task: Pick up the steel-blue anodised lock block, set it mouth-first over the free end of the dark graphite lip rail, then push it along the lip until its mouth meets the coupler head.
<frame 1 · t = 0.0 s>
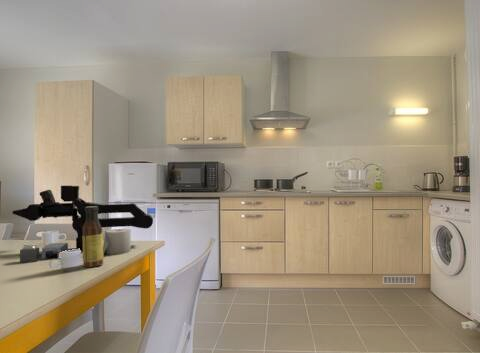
hand: (17, 211, 125), 17 cm above the table, tool horizontal, fingers open, 9 cm apart
toilet tissue: (115, 253, 123), on the table
lock block: (55, 256, 118), on the table
sauce bottle: (92, 265, 104), on the table
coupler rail: (36, 256, 116), on the table
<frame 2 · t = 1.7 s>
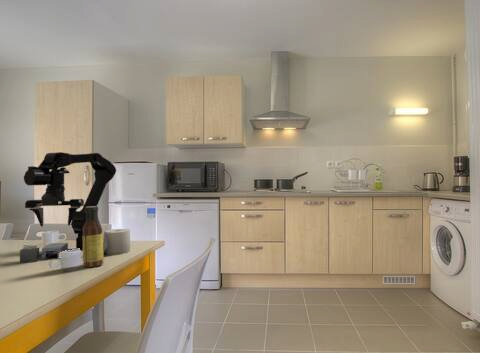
hand: (55, 225, 118), 11 cm above the table, tool pointing down, fingers open, 9 cm apart
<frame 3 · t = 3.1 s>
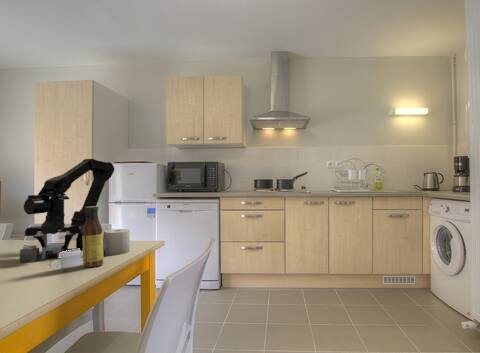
hand: (55, 252, 118), 1 cm above the table, tool pointing down, fingers closed on lock block, 6 cm apart
lock block: (55, 256, 118), on the table, touching gripper
everything else where it was.
when the fingers open (2 cm above the table, at t = 7.1 s): lock block drops 1 cm, on the table.
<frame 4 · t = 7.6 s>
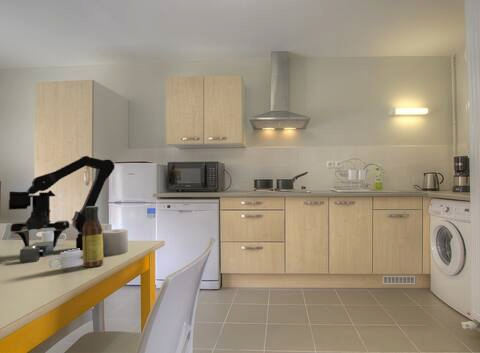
hand: (41, 248, 121), 2 cm above the table, tool pointing down, fingers open, 9 cm apart
lock block: (41, 254, 121), on the table
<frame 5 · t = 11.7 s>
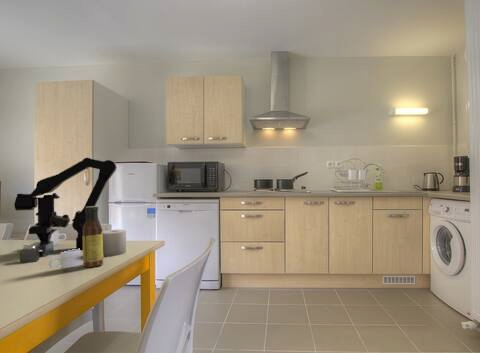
hand: (46, 247, 126), 1 cm above the table, tool pointing down, fingers closed
lock block: (40, 254, 120), on the table, touching gripper
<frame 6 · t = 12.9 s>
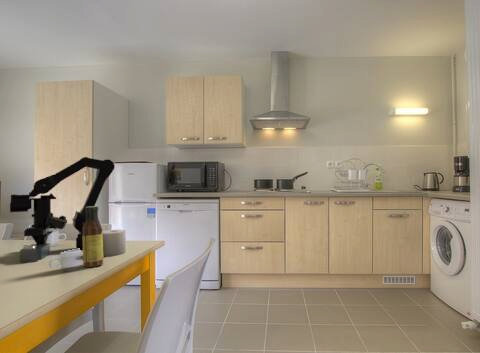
hand: (42, 250, 122), 1 cm above the table, tool pointing down, fingers closed
lock block: (36, 257, 116), on the table, touching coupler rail, gripper
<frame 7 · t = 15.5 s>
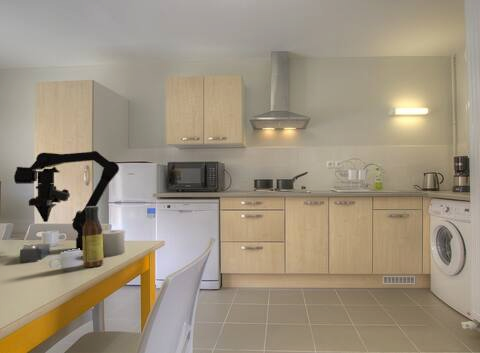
hand: (45, 221, 126), 12 cm above the table, tool pointing down, fingers closed
lock block: (36, 257, 116), on the table, touching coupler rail
at the end: lock block 0.9 cm off-centre on the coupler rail, point 0.0 cm above the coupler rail's base; lock block tilted 0°; the gripper is holding nothing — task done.
